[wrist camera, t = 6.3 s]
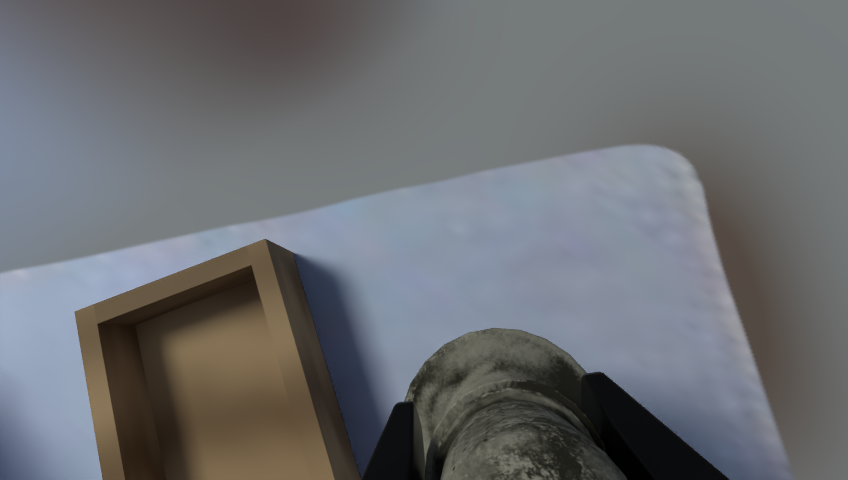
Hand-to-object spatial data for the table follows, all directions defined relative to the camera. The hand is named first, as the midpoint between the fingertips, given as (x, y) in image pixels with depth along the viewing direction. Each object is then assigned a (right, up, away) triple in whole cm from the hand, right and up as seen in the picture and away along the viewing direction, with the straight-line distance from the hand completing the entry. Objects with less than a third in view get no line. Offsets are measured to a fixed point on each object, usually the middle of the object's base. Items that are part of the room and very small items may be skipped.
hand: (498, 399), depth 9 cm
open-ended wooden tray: (-11, -6, +13) cm, 18 cm away
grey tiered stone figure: (+1, -3, +6) cm, 7 cm away
